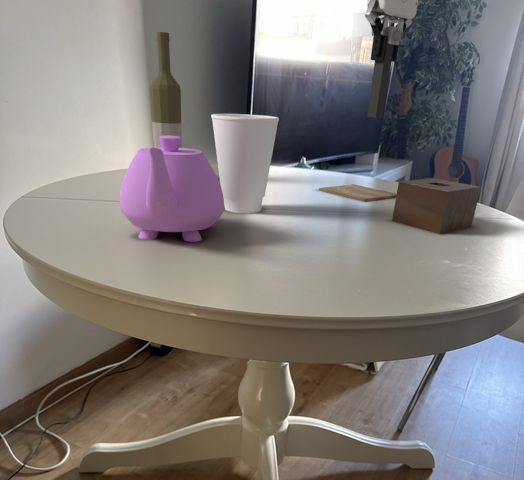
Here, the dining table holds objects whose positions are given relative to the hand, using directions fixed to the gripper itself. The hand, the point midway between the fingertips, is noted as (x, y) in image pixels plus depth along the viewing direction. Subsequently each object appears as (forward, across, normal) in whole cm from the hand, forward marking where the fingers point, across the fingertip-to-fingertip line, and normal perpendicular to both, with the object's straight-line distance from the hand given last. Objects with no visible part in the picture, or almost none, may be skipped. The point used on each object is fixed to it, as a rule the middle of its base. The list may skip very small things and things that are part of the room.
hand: (383, 59), depth 96 cm
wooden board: (+26, +1, +2) cm, 27 cm away
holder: (+26, -9, -24) cm, 37 cm away
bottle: (+27, -29, +38) cm, 54 cm away
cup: (+27, -33, +2) cm, 43 cm away
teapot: (+27, -53, -7) cm, 60 cm away
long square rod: (+10, 0, 0) cm, 10 cm away
